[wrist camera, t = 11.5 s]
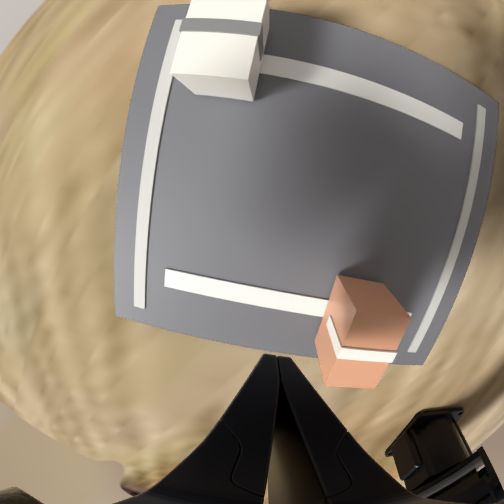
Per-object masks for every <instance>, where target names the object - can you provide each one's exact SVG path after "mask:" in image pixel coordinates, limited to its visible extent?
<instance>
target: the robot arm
mask: <svg viewBox="0 0 504 504" xmlns="http://www.w3.org/2000/svg"><path fill="white" fill-rule="evenodd" d="M463 413H464V409H463V408H455V409H449V410H441V411H433V412H424V413H419V414H417V415H416V416H415V417H414V418H413V419H412V421H411V422H410V423H409V424H408V426H407V427H406V428H405V429H404V431H403V432H402V433H401V434H400V435H399V437H398V438H397V439H396V440H395V441H394V442H393V443H392V445H391V446H390V447H389V448H388V449H387V450H386V451H385V456H386V457H389V456H393V457H394V460H395V464H396V467H397V470H398V474H399V477H400V479H401V480H402V481H403V480H404V482H405V486H406V489H405V488H404V487H403V486H402V485H401V484H400V483H398V482H397V481H396V480H395V479H394V478H393V477H392V476H391V475H390V474H389V473H387V472H386V471H385V470H384V469H383V468H382V467H381V466H380V465H379V464H378V463H377V462H376V461H375V460H374V459H373V458H372V457H371V456H370V455H369V454H368V453H367V452H366V451H365V450H364V449H363V448H362V447H361V446H360V444H359V443H358V442H357V441H356V440H355V439H354V437H353V436H352V435H351V434H350V433H349V432H347V429H346V428H345V427H344V425H343V424H342V423H341V422H340V420H339V419H338V418H337V417H336V415H335V414H334V413H333V412H332V410H331V409H330V408H329V407H328V405H327V404H326V403H325V401H324V400H323V399H322V398H321V396H320V395H319V394H318V393H317V391H316V390H315V389H314V387H313V386H312V385H311V384H310V382H309V381H308V380H307V378H306V377H305V376H304V374H303V373H302V372H301V371H300V369H299V368H298V367H297V365H296V364H295V363H294V361H293V360H292V359H291V358H290V357H284V356H278V357H277V356H275V355H271V354H263V355H262V357H261V358H260V360H259V361H258V363H257V365H256V366H255V368H254V369H253V371H252V372H251V374H250V375H249V377H248V378H247V380H246V381H245V383H244V384H243V386H242V387H241V389H240V390H239V392H238V393H237V395H236V396H235V398H234V399H233V401H232V402H231V404H230V405H229V407H228V408H227V410H226V411H225V412H224V414H223V415H222V417H221V418H220V420H219V421H218V422H217V424H216V425H215V426H214V428H213V429H212V430H211V432H210V433H209V434H208V435H207V437H206V438H205V439H204V440H203V441H202V443H201V444H200V445H199V446H198V447H197V448H196V449H195V450H194V451H193V452H192V453H191V454H190V455H189V456H188V457H187V458H185V459H184V460H183V461H182V462H181V463H180V464H179V465H178V466H177V467H175V468H174V469H173V470H172V471H171V472H170V473H169V474H168V475H166V476H165V477H164V478H163V479H162V480H160V481H159V482H158V483H157V484H155V485H154V486H152V487H151V488H149V489H148V490H146V491H144V492H143V493H141V494H138V495H136V496H133V497H130V498H128V499H125V500H122V501H119V502H116V503H113V504H263V501H264V496H265V490H266V484H267V477H268V499H269V504H504V490H503V488H502V485H501V483H500V481H499V479H498V477H497V474H496V472H495V470H494V468H493V466H492V464H491V462H490V460H489V458H488V456H487V454H486V452H485V450H484V449H483V447H482V446H481V447H480V448H479V449H477V451H476V452H475V453H473V454H472V452H471V450H470V448H469V446H468V444H467V442H466V440H465V438H464V436H463V434H462V432H461V430H460V428H459V426H458V424H457V421H458V419H459V418H460V417H461V416H462V414H463ZM483 464H484V465H485V467H484V468H482V469H481V470H480V471H477V469H478V468H479V467H480V466H482V465H483ZM0 504H43V503H42V502H40V501H39V500H37V499H35V498H34V497H32V496H30V495H29V494H28V493H26V492H24V491H23V490H21V489H19V488H17V487H11V488H8V489H5V490H2V491H0Z"/></svg>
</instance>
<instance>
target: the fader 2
mask: <svg viewBox="0 0 504 504" xmlns="http://www.w3.org/2000/svg"><path fill="white" fill-rule="evenodd" d="M410 321H411V317H410V316H409V314H408V313H407V312H406V311H405V309H404V308H403V307H402V306H401V304H400V303H399V302H398V301H397V299H396V298H395V297H394V296H393V295H392V293H391V292H390V291H389V290H388V288H387V287H386V286H385V285H384V284H383V283H378V282H373V281H368V280H362V279H357V278H352V277H346V276H341V275H337V276H336V279H335V282H334V285H333V289H332V292H331V295H330V298H329V301H328V304H327V307H326V310H325V313H324V316H323V319H322V321H321V324H320V327H319V330H318V333H317V335H316V338H315V345H316V350H317V354H318V359H319V363H320V368H321V373H322V378H323V382H324V386H337V387H355V388H376V386H377V384H378V382H379V381H380V379H381V377H382V376H383V374H384V372H385V370H386V368H387V367H388V365H389V363H392V362H393V360H394V358H395V357H396V355H397V351H396V350H397V348H398V346H399V344H400V342H401V340H402V338H403V335H404V333H405V331H406V329H407V327H408V325H409V323H410Z"/></svg>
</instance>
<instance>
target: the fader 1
mask: <svg viewBox="0 0 504 504" xmlns="http://www.w3.org/2000/svg"><path fill="white" fill-rule="evenodd" d="M179 31H180V32H181V34H180V38H179V41H178V45H177V48H176V52H175V55H174V59H173V63H172V67H171V71H170V74H171V75H173V76H174V77H175V78H176V79H177V80H179V81H180V82H181V83H182V84H183V85H185V86H186V87H187V88H188V89H189V90H191V91H192V92H193V93H194V94H196V95H207V96H216V97H225V98H232V99H239V100H246V101H254V97H255V92H256V87H257V82H258V77H259V73H260V68H261V64H262V59H263V54H264V50H265V45H266V41H267V36H268V32H269V0H192V1H191V3H190V6H189V9H188V12H187V15H186V18H183V19H182V22H181V25H180V29H179Z"/></svg>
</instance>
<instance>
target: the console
mask: <svg viewBox="0 0 504 504" xmlns="http://www.w3.org/2000/svg"><path fill="white" fill-rule="evenodd" d="M189 6H190V4H179V5H162V6H158V8H157V11H156V13H155V16H154V19H153V22H152V25H151V28H150V31H149V34H148V37H147V40H146V44H145V47H144V50H143V54H142V57H141V61H140V65H139V69H138V72H137V76H136V80H135V85H134V89H133V93H132V98H131V103H130V108H129V113H128V118H127V123H126V129H125V135H124V141H123V148H122V155H121V163H120V171H119V180H118V190H117V202H116V217H115V239H114V292H115V314H116V316H119V317H122V318H125V319H129V320H132V321H136V322H139V323H143V324H146V325H150V326H154V327H158V328H161V329H165V330H169V331H173V332H177V333H181V334H186V335H190V336H194V337H199V338H203V339H208V340H212V341H217V342H222V343H227V344H232V345H237V346H242V347H248V348H253V349H259V350H265V351H271V352H278V353H284V354H291V355H298V356H306V357H314V358H318V354H317V350H316V345H315V338H316V335H317V333H318V330H319V327H320V324H321V321H322V319H323V316H324V313H325V310H326V307H327V304H328V301H329V298H330V295H331V292H332V289H333V285H334V282H335V279H336V276H337V275H341V276H346V277H352V278H357V279H362V280H368V281H373V282H378V283H383V284H384V285H385V286H386V287H387V288H388V290H389V291H390V292H391V293H392V295H393V296H394V297H395V298H396V299H397V301H398V302H399V303H400V304H401V306H402V307H403V308H404V309H405V311H406V312H407V313H408V314H409V316H410V317H411V321H410V323H409V325H408V327H407V329H406V331H405V333H404V335H403V338H402V340H401V342H400V344H399V346H398V348H397V350H396V351H397V355H396V357H395V358H394V360H393V362H392V363H389V364H399V365H423V363H424V362H425V360H426V358H427V356H428V355H429V353H430V351H431V349H432V347H433V345H434V343H435V342H436V340H437V338H438V336H439V334H440V332H441V330H442V328H443V326H444V324H445V322H446V319H447V317H448V315H449V313H450V311H451V308H452V306H453V304H454V302H455V299H456V297H457V295H458V292H459V290H460V287H461V285H462V282H463V279H464V277H465V274H466V271H467V269H468V266H469V263H470V260H471V257H472V254H473V251H474V248H475V245H476V241H477V238H478V235H479V231H480V227H481V224H482V220H483V216H484V212H485V208H486V203H487V199H488V194H489V189H490V184H491V179H492V173H493V166H494V159H495V152H496V143H497V132H498V116H499V103H498V102H497V101H496V100H494V99H493V98H492V97H490V96H489V95H487V94H486V93H484V92H483V91H482V90H480V89H479V88H477V87H476V86H474V85H473V84H471V83H469V82H468V81H466V80H465V79H463V78H461V77H460V76H458V75H457V74H455V73H453V72H451V71H450V70H448V69H446V68H444V67H443V66H441V65H439V64H437V63H435V62H433V61H431V60H429V59H427V58H425V57H423V56H421V55H419V54H417V53H415V52H413V51H411V50H409V49H406V48H404V47H402V46H399V45H397V44H395V43H392V42H390V41H387V40H385V39H382V38H380V37H377V36H374V35H372V34H369V33H366V32H363V31H360V30H357V29H354V28H351V27H348V26H344V25H341V24H337V23H334V22H330V21H326V20H322V19H318V18H314V17H310V16H305V15H300V14H295V13H290V12H284V11H278V10H272V9H269V32H268V36H267V41H266V45H265V50H264V54H263V59H262V64H261V68H260V73H259V77H258V82H257V87H256V92H255V97H254V101H246V100H239V99H232V98H225V97H216V96H207V95H196V94H194V93H193V92H192V91H191V90H189V89H188V88H187V87H186V86H185V85H183V84H182V83H181V82H180V81H179V80H177V79H176V78H175V77H174V76H173V75H171V74H170V71H171V67H172V63H173V59H174V55H175V52H176V48H177V45H178V41H179V38H180V34H181V32H180V31H179V29H180V25H181V22H182V19H183V18H186V15H187V12H188V9H189Z"/></svg>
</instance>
